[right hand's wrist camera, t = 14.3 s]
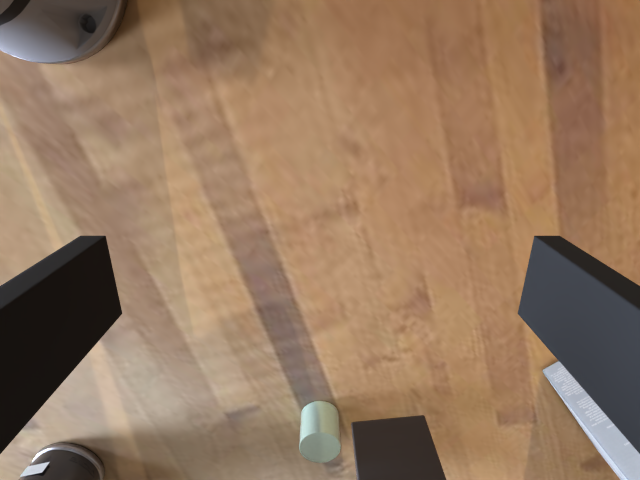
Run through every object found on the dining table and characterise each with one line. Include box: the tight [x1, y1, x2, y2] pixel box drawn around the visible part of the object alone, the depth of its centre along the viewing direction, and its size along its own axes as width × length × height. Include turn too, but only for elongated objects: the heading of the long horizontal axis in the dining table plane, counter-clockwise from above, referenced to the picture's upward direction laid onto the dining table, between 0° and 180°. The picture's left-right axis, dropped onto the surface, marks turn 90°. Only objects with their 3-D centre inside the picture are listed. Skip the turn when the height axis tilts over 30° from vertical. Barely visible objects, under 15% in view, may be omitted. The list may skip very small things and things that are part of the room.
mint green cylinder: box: [299, 401, 341, 463], centre depth 49 cm, size 5×5×5 cm
